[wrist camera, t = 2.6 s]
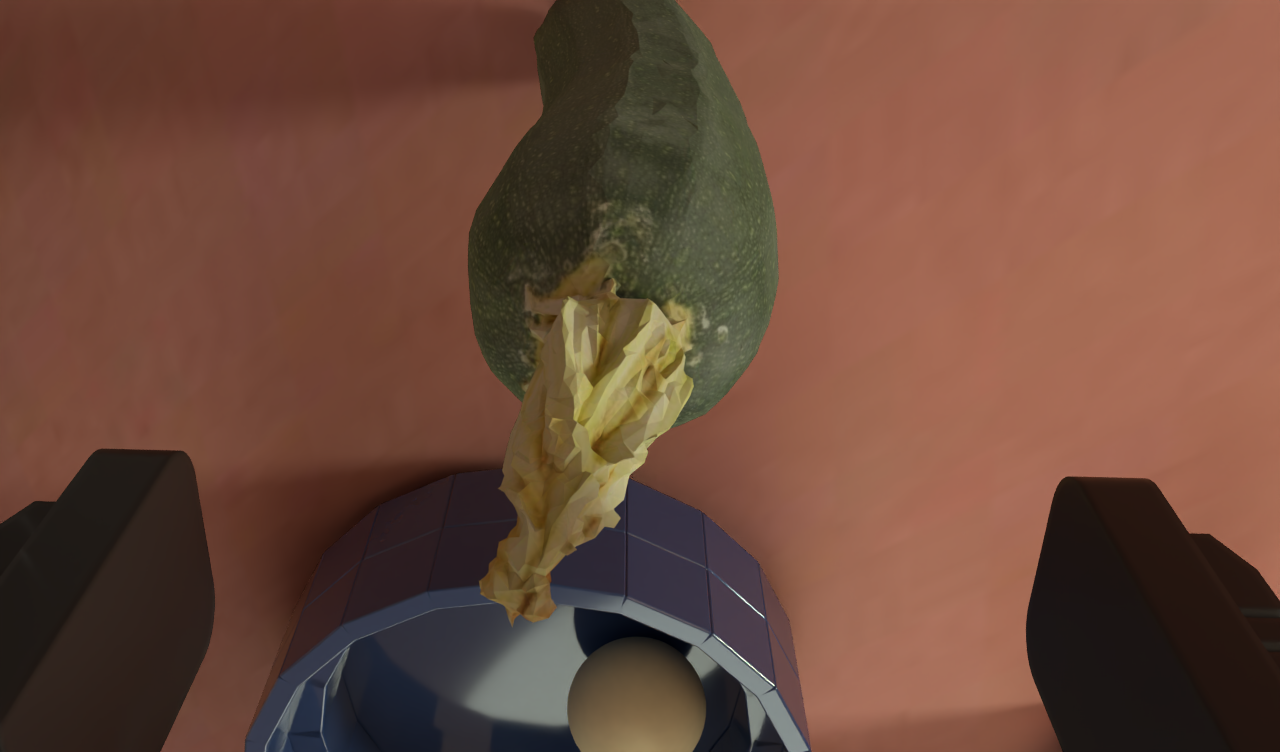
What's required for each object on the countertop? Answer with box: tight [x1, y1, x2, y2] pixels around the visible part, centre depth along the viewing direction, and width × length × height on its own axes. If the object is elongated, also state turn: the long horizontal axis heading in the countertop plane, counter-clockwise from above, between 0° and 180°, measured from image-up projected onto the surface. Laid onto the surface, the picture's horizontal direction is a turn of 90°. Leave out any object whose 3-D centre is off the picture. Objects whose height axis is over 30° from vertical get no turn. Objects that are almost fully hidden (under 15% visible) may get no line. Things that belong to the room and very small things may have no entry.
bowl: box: [244, 468, 812, 752], centre depth 35 cm, size 15×15×6 cm
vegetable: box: [468, 0, 779, 627], centre depth 20 cm, size 4×4×20 cm
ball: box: [567, 637, 706, 752], centre depth 35 cm, size 4×4×4 cm
